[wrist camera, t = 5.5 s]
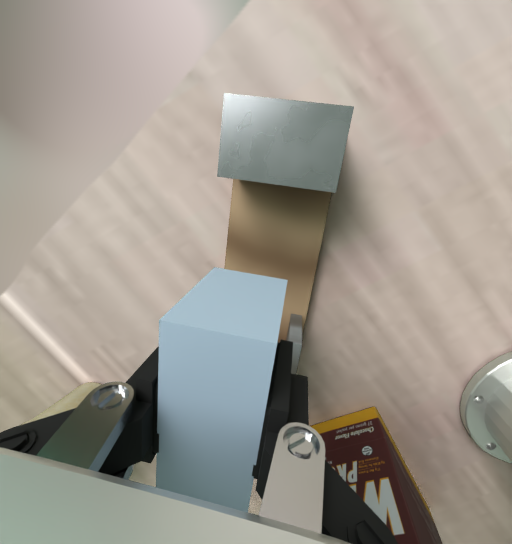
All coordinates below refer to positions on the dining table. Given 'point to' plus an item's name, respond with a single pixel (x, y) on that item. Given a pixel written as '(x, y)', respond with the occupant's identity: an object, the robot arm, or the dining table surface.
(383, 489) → the supplement box
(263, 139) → the grey concrete block
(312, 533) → the robot arm
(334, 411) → the dining table surface
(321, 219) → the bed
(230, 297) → the light blue block
